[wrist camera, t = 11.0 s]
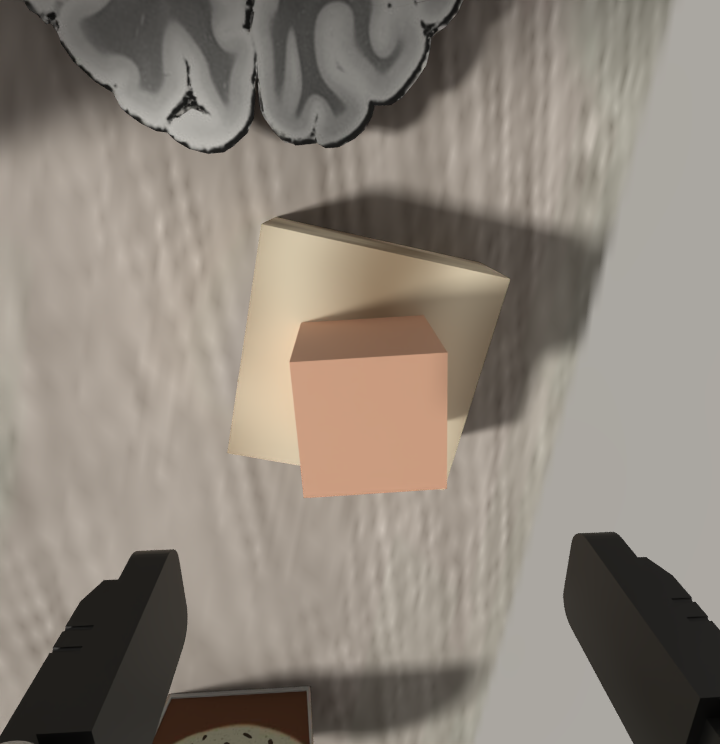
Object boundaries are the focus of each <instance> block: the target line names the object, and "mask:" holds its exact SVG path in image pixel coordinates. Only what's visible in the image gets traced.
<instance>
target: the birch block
mask: <svg viewBox="0 0 720 744" xmlns="http://www.w3.org/2000/svg"><path fill="white" fill-rule="evenodd" d="M509 282H510V278H508V277H506V276H504V275H502V274H500V273H499V272H497V271H495V270H493V269H491V268H489V267H488V266H486V265H484V264H482V263H480V262H475V261H471V260H467V259H462V258H458V257H453V256H449V255H444V254H440V253H435V252H431V251H426V250H422V249H417V248H413V247H408V246H404V245H399V244H395V243H390V242H386V241H381V240H377V239H372V238H368V237H363V236H359V235H354V234H350V233H345V232H341V231H336V230H332V229H327V228H323V227H318V226H314V225H309V224H305V223H300V222H296V221H291V220H287V219H282V218H278V217H275V218H273V219H271V220H269V221H267V222H265V223H263V224H261V231H260V237H259V244H258V251H257V258H256V264H255V271H254V278H253V284H252V291H251V298H250V304H249V311H248V318H247V325H246V331H245V338H244V345H243V351H242V358H241V365H240V372H239V378H238V385H237V392H236V398H235V405H234V412H233V418H232V425H231V432H230V439H229V445H228V452H227V453H230V454H236V455H241V456H247V457H253V458H259V459H265V460H270V461H276V462H282V463H288V464H294V465H300V458H299V448H298V439H297V429H296V420H295V411H294V401H293V392H292V383H291V373H290V364H289V362H290V358H291V355H292V352H293V348H294V345H295V341H296V338H297V335H298V331H299V328H300V324H301V323H302V322H319V321H335V320H351V319H367V318H384V317H400V316H416V315H424V316H425V318H426V320H427V321H428V323H429V324H430V326H431V327H432V329H433V330H434V332H435V334H436V335H437V337H438V338H439V340H440V341H441V343H442V345H443V346H444V348H445V349H446V351H447V352H448V373H447V478H448V475H449V472H450V469H451V466H452V462H453V459H454V456H455V453H456V450H457V447H458V443H459V440H460V437H461V434H462V431H463V428H464V424H465V421H466V418H467V415H468V412H469V409H470V405H471V402H472V399H473V396H474V393H475V390H476V387H477V383H478V380H479V377H480V374H481V371H482V368H483V364H484V361H485V358H486V355H487V352H488V349H489V345H490V342H491V339H492V336H493V333H494V330H495V326H496V323H497V320H498V317H499V314H500V311H501V307H502V304H503V301H504V298H505V295H506V292H507V288H508V285H509ZM439 490H444V489H439Z"/></svg>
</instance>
